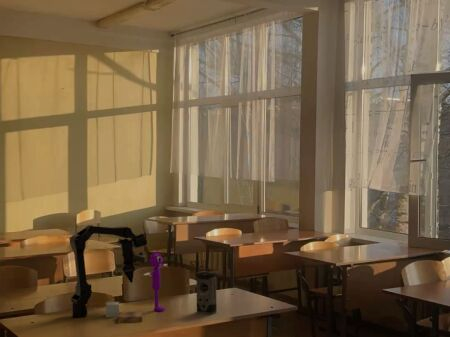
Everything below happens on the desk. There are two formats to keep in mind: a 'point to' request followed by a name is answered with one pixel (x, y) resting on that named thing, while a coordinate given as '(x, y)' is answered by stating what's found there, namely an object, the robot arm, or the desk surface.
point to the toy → (156, 277)
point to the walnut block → (130, 317)
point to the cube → (112, 309)
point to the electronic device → (206, 292)
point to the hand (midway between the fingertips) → (132, 280)
